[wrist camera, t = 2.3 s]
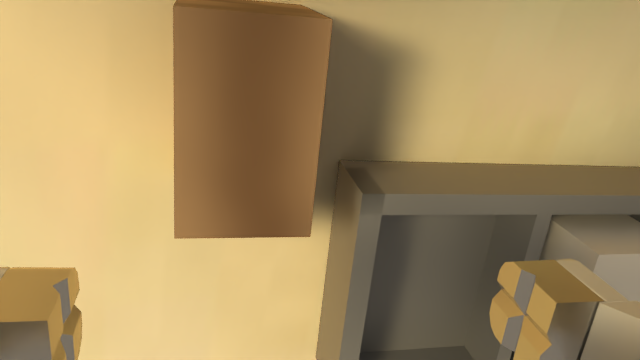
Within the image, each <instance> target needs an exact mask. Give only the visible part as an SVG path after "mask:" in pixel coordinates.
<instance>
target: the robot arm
mask: <svg viewBox="0 0 640 360" xmlns="http://www.w3.org/2000/svg"><path fill="white" fill-rule="evenodd" d="M497 281H498V283H499V285H500V287H501V290H500V291H499V292H498V293H497V294H496V296H495V297H494V298H493V299H492V303H491V307H490V312H489V314H490V323H491V328H492V330H493V333H494V335H495V337H496V338H497V340H498V341H499V342H500V344H501V345H503V346H505V347H506V348H508V349H510V350H512V351H514V357H513V360H640V302H638V301H629V300H628V299H626V298H625V297H624V296H623V295H621V294H620V293H619V292H617V291H616V290H615V289H614V288H612V287H611V286H610V285H609V284H607V283H606V282H605V281H603V280H602V279H601V278H600V277H598V276H597V275H596V274H595V273H593V272H592V271H591V270H589V269H588V268H587V267H586V266H584V265H583V264H582V263H581V262H579V261H577V260H573V259H559V260H537V261H513V262H505V263H504V264H503V266H502V267H501V269H500V271H499V275H498V278H497ZM79 290H80V289H79V280H78V273H77V271H76V269H75V268H53V267H13V268H10V267H0V360H78V357H79V352H80V346H81V339H82V315H81V311H80V310H79V309H78V308H77V307H76V306H75V305H74V303H75V300H76V298H77V295H78V293H79Z"/></svg>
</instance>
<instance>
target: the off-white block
mask: <svg viewBox="0 0 640 360" xmlns="http://www.w3.org/2000/svg"><path fill="white" fill-rule="evenodd" d="M559 259H573V260H577V261H579V262H581V263H582V264H583V265H584V266H586V267H587V268H588V269H589V270H591V271H592V272H593V273H595V274H596V275H597V276H598V277H600V278H601V279H602V280H603V281H605V282H606V283H607V284H609V285H610V286H611V287H612V288H614V289H615V290H616V291H617V292H619V293H620V294H621V295H623V296H624V297H625V298H626V299H628V300H629V301H638V302H640V222H639V221H637V220H635V219H634V218H632V217H630V216H629V215H627V214H615V215H552V217H551V221H550V224H549V228H548V231H547V234H546V238H545V241H544V245H543V248H542V251H541V255H540V258H539V260H559Z"/></svg>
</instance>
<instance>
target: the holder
mask: <svg viewBox="0 0 640 360" xmlns="http://www.w3.org/2000/svg"><path fill="white" fill-rule="evenodd" d="M615 214H627V215H629V216H630V217H632V218H634V219H635V220H637V221H639V222H640V167H618V166H573V165H528V164H483V163H437V162H392V161H347V160H340V161H339V169H338V177H337V186H336V194H335V202H334V211H333V219H332V227H331V235H330V244H329V252H328V260H327V269H326V277H325V285H324V294H323V302H322V310H321V318H320V327H319V335H318V343H317V352H316V359H317V360H513V357H514V351H512V350H510V349H508V348H506V347H505V346H503V345H501V344H500V342H499V341H498V340H497V338H496V337H495V335H494V333H493V330H492V328H491V323H490V314H489V312H490V307H491V303H492V299H493V298H494V297H495V296H496V294H497V293H498V292H499V291H500V290H501V287H500V285H499V283H498V281H497V278H498V275H499V271H500V269H501V267H502V266H503V264H504V263H505V262H513V261H537V260H539V258H540V255H541V251H542V248H543V245H544V241H545V238H546V234H547V231H548V228H549V224H550V221H551V217H552V215H615Z"/></svg>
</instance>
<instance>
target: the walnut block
mask: <svg viewBox="0 0 640 360" xmlns="http://www.w3.org/2000/svg"><path fill="white" fill-rule="evenodd" d="M332 21H333V19H331V18H328V17H326V16H324V15H322V14H320V13H318V12H315V11H313V10H311V9H309V8H307V7H305V6H302V5H296V4H285V3H274V2H263V1H251V0H176V2H175V4H174V6H173V41H174V236H175V238H252V237H310V234H311V225H312V215H313V205H314V196H315V186H316V176H317V167H318V157H319V147H320V137H321V128H322V118H323V108H324V99H325V89H326V79H327V70H328V60H329V50H330V41H331V31H332Z"/></svg>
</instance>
